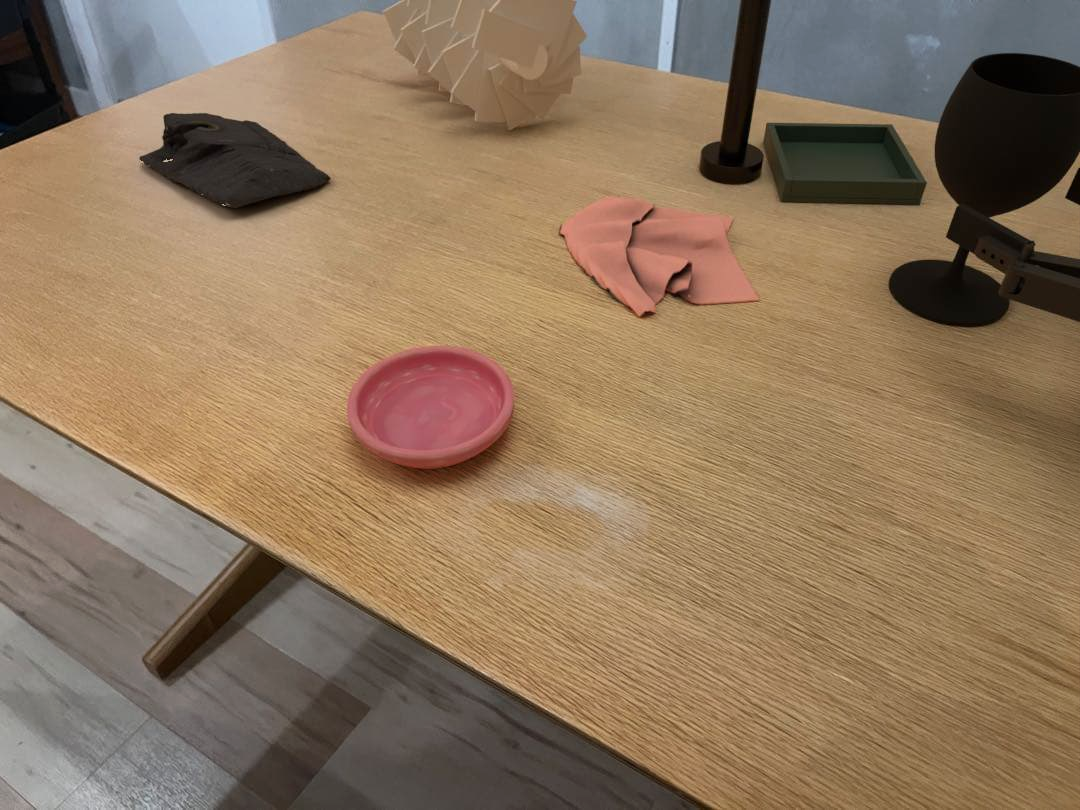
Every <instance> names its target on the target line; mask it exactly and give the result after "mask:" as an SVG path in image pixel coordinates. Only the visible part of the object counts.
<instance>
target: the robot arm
mask: <svg viewBox="0 0 1080 810" xmlns="http://www.w3.org/2000/svg"><path fill="white" fill-rule="evenodd" d="M1064 199H1066V200H1068V201H1069V202H1071V203H1073V204H1075V205H1077V206H1080V167H1078V168H1077V170H1076V172H1075V175H1074V177H1073V178H1072V181H1071V184H1070V185H1069V187H1068V190H1067V192H1066V194H1065V197H1064ZM945 238H946V239H947V240H949V241H951V242H952V243H954V244H956V245H958V247H959V246H961V247H963V248H965V249H966V250H968V251H970V252H969V253H971V254H972V255H974V256H975V257H976V258H977V259H979V260H980V261H982V262H984V263H985V264H988V265H989V266H990V267H992V268H994V269H995V270H997V271H999V272H1001V273H1003V274H1004V277H1003V279H1002V282H1001V283H1000V284H1001V286H1000V288H999V291H998V294H999V295H1000V296H1001V297H1003V298H1006V299H1009V301H1012V302H1016V303H1019V304H1022V305H1025V306H1028V307H1030V308H1031V307H1032V308H1034V309H1038V310H1040V311H1044V312H1047V313H1050V314H1053V315H1056V316H1060V317H1063V318H1065V319H1069V320H1072V321H1075V322H1078V323H1080V258H1075V257H1070V256H1064V255H1059V254H1054V253H1049V252H1042V251H1038V250H1035V246H1036V242H1035V240H1031V239H1030V238H1027V237H1025V236H1023V235H1022V234H1020V233H1018V232H1016V231H1014V230H1012V229H1011V228H1008V227H1007V226H1005V225H1003V224H1001V223H1000V222H998V221H996V220H994V219H993V218H991V217H990V218H989V217H987V216H985V215H983V214H981V213H979V212H978V211H976V210H974V209H972V208H970V207H969V206H967V205H965V204H962V205H956V208H955V210H954V213H953V216H952V218H951V221H950V224H949V227H948V230H947V232H946V235H945Z"/></svg>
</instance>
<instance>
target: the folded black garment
mask: <svg viewBox="0 0 1080 810" xmlns="http://www.w3.org/2000/svg"><path fill="white" fill-rule="evenodd" d="M163 125H164V128H163V133H162V136H161V139H162V142H163V144H162V146H161V147H160V148H157V149H156V150H153V151H151V152H148V153H146V154H144V155H141V156H139V158H138V159H139V161H140V160H141V161H143V162H144V163H145V164H146V165H145V164H144V163H143V162H142V163H143V164H144V165H145V166H148V165H150V166H149V167H150V168H151V169H153V170H155V172H157V171H158V172H157V173H159V174H160V175H161V174H162V175H161V176H163V177H165V176H167V177H166V178H167V179H168V180H170V179H172V180H171V181H173V182H174V183H175V182H177V183H176V184H178V183H182V184H181V185H183V186H186V188H188V189H189V190H192V191H195V192H196V193H197V194H198V193H200V194H203V195H204V197H205V198H208V199H210V200H211V201H213V202H215V201H216V202H215V203H218V202H219V203H218V204H220V205H221V204H224V205H226V207H229V208H232V209H238V208H241V207H244V206H246V205H249V203H251V204H252V203H253V204H255V203H257V202H261V201H265V200H268V199H271V198H274V196H275V197H282V196H286V195H291V194H294V193H298V192H304V191H307V190H311V188H312V189H315V188H317V187H319V186H321V185H323V184H325V183H326V182H328V181H330V180H331V179H332V178H331V176H329V175H328V174H326V172H324V171H323V170H321V169H319V168H318V167H316V166H315V164H313V163H312V162H310V161H309V160H307V159H306V158H305V157H303V156H302V155H301V154H300V153H299V151H297V150H295V149H294V148H293V147H291V146H290V145H288V143H287V142H286V141H285V140H282V139H280V138H279V137H278V135H276V134H274V133H273V132H271V131H270V130H268V129H267V128H266V127H263V126H262V125H260V124H259V123H258V122H256V121H253V120H252V121H251V120H248V119H246V120H245V119H244V120H238V119H232V118H227V117H223V116H221V115H218V114H211V113H207V112H199V113H198V112H193V113H176V112H170V113H165V114H164V115H163ZM166 159H167V160H170V159H173V160H172V161H168V162H163V161H164V160H166ZM303 190H304V191H303ZM200 194H199V195H200ZM254 202H255V203H254Z"/></svg>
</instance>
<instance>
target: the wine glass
mask: <svg viewBox="0 0 1080 810" xmlns="http://www.w3.org/2000/svg"><path fill="white" fill-rule="evenodd" d="M1079 155H1080V66H1078V65H1077V64H1075V63H1071V62H1068V61H1066V60H1062V59H1058V58H1053V57H1049V56H1045V55H1040V54H1033V53H1023V52H1002V53H1001V52H1000V53H991V54H986V55H982V56H980V57H978V58H975V59H973V61H972V62H971V63H970V65H969V66H968V67H967V68H966V71H964V73H963V75H962V76H961V78H960V79H959V81H958V82H957V84H956V86H955V87H954V89H953V91H952V93H951V95H950V97H949V98H948V100H947V103H946V105H945V107H944V109H943V111H942V114H941V117H940V119H939V123H938V125H937V130H936V134H935V141H934V163H935V168H936V171H937V174H938V178H939V180H940V183H941V185H942V186H943V187H944V189H945V191H946V192H947V194H949V197H951V199H952V200H953V201H954V202H955V203H956V204H957V206H959V205H962V204H965V205H967V206H969V207H970V208H972V209H974V210H976V211H978V212H979V213H981V214H983V215H985V216H987V217H989V218H990V219H991V218H993V217H996V216H1001V215H1004V214H1008V213H1011V212H1013V211H1017V210H1019V209H1021V208H1024V207H1027V206H1028V205H1030V204H1032V203H1034V202H1036V201H1038V200H1039V199H1041V198H1042V197H1044V196H1045V195H1046V194H1048V193H1049V192H1050V191H1052V190H1053V189H1054V188H1055V187H1056V186H1057V185H1058V184H1059V183H1060V182H1061V181H1062V180H1063V179H1064V177H1065V176H1066V175H1067V173H1069V171H1070V169H1071V168H1072V167H1073V165H1074V164H1075V162H1076V161H1077V159H1078V156H1079ZM970 253H971V252H970V251H968V250H966V249H965V248H963V247H961V246H959V245H958V248H957V251H956V253H955V256H954V257H953V260H952V261H950V260H943V259H918V260H913V261H908V262H906V263H903V264H901V265H899V266H898V267H896V268H895V269H894V270H893V271H892V273H891V274H890V276H889V280H888V289H889V292H890V294H891V295H892V297H893V298H894V299H895V300H896V301H897V302H898V304H900V305H901V306H902V307H903V308H905V309H906V310H908V311H909V312H911V313H913V314H915V315H917V316H919V317H921V318H924V319H926V320H928V321H932V322H936V323H939V324H942V325H948V326H953V327H955V326H956V327H980V326H985V325H990V324H992V323H995V322H998V320H1001V318H1003V317H1004V316H1005V315H1006V313H1007V311H1008V310H1009V306H1010V300H1009V299H1006V298H1003V297H1001V296H1000V295H999V294H998V291H999V288H1000V286H1001V284H1002V283H1000V282H998V280H996V279H995V278H994V277H992V276H990V275H989V274H987V273H986V272H983V271H982V270H980V269H977V268H975V267H973V266H970V265H966V264H967V263H966V262H967V259H968V257H969V254H970Z"/></svg>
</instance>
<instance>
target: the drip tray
mask: <svg viewBox="0 0 1080 810" xmlns="http://www.w3.org/2000/svg"><path fill="white" fill-rule="evenodd" d="M764 129H765V130H764V134H763V141H762V144H763V147H764V151H765V154H766V158H767V160H768V161H767V162H768V164H769V167H770V171H771V175H772V177H773V179H774V184H775V187H776V189H777V193H778V196H779V200H780V202H781V203H815V204H816V203H823V204H868V205H912V206H913V205H915V206H917V205H921V202H922V199H923V196H924V193H925V190H926V186H927V184H928V183H927V180H926V179H925V177H924V175H923V174H922V172H921V170H920V168H919V167H918V165H917V164H916V161H915V160H914V158H913V157H912V155H911V153H910V152H909V150H908V148H907V147H906V145H905V143H904V141H903V140H902V139H901V137H900V135H899V134H898V131H897V130H896V129H895V127H894V125H893V124H892V123H891V124H889V123H888V124H887V123H886V124H883V123H879V124H878V123H874V124H873V123H824V122H823V123H822V122H819V123H818V122H813V123H812V122H766V124H765V128H764Z"/></svg>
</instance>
